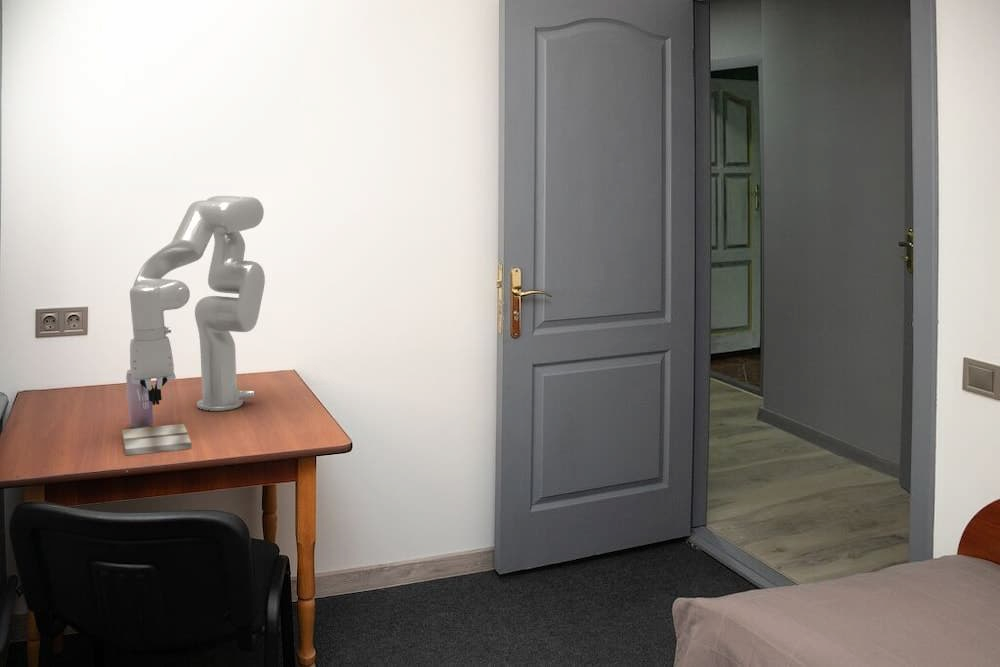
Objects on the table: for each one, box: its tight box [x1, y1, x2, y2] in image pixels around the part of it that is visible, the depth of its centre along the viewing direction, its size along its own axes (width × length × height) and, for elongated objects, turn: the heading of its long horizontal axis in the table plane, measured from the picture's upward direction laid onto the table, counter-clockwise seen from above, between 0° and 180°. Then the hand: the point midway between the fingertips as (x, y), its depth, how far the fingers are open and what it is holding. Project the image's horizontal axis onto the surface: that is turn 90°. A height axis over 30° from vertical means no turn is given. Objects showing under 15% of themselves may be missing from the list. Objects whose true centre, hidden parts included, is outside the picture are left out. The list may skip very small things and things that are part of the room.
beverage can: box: [126, 368, 154, 429], centre depth 247 cm, size 6×6×15 cm
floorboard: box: [123, 433, 192, 456], centre depth 231 cm, size 15×8×2 cm, turn 114°
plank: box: [121, 423, 188, 443], centre depth 239 cm, size 15×8×2 cm, turn 114°
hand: (155, 403), depth 240 cm, fingers closed
